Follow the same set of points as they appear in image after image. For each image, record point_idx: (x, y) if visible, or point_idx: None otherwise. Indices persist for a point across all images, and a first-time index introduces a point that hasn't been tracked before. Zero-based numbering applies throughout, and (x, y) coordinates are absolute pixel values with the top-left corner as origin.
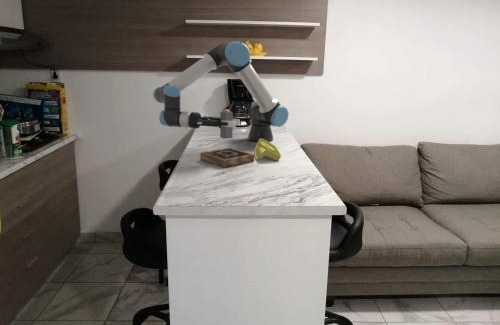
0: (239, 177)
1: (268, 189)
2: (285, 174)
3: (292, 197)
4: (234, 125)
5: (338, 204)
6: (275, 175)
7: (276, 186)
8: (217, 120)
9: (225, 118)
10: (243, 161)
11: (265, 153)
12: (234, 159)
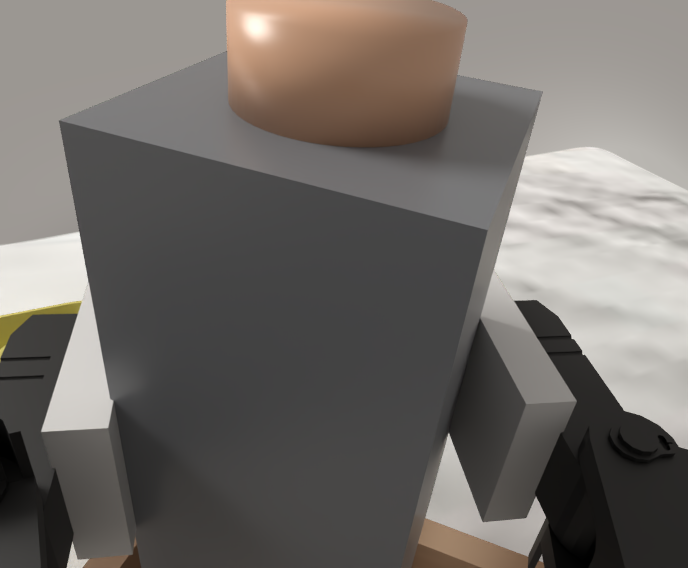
0: (659, 423)
1: (669, 275)
2: None
3: (658, 214)
4: None
5: (591, 147)
6: None
7: (607, 262)
8: (624, 546)
9: (491, 276)
10: None
11: None
12: (455, 537)
